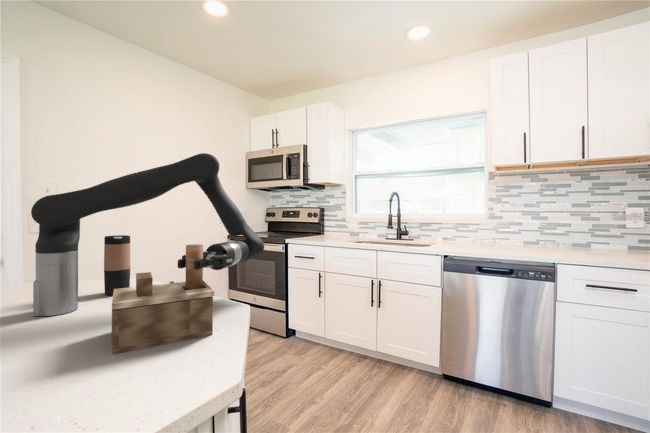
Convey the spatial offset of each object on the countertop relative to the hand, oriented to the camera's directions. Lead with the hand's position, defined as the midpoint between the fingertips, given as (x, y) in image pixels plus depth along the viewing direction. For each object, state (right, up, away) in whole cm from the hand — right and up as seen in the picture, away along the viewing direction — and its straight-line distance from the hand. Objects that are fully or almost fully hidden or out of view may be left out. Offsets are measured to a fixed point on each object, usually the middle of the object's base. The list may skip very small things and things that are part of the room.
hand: (187, 264), depth 75 cm
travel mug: (-39, -15, +32) cm, 53 cm away
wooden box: (-6, -16, -1) cm, 17 cm away
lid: (-5, -7, -1) cm, 9 cm away
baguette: (0, -7, +3) cm, 8 cm away
